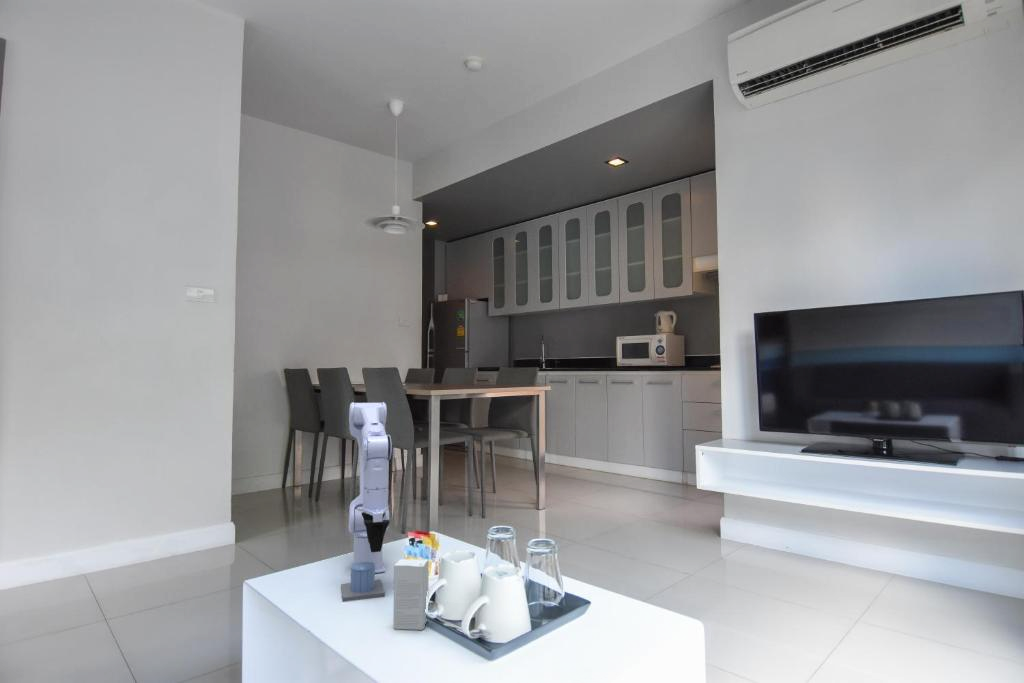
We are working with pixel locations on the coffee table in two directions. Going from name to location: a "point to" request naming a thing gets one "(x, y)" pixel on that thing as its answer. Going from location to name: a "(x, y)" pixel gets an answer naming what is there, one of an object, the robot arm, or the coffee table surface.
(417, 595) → the skincare box
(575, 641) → the coffee table surface
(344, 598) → the plate
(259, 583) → the coffee table surface
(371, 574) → the cap
